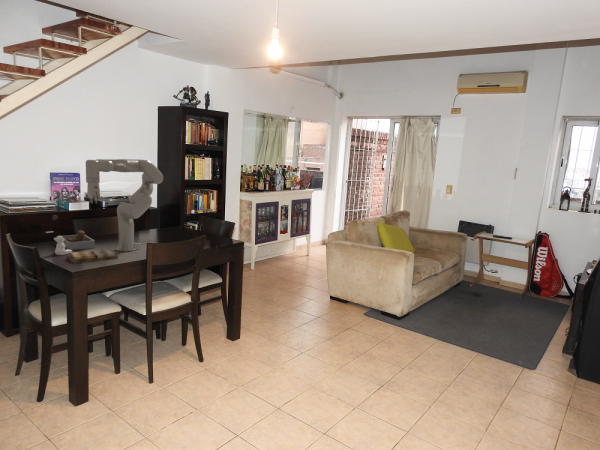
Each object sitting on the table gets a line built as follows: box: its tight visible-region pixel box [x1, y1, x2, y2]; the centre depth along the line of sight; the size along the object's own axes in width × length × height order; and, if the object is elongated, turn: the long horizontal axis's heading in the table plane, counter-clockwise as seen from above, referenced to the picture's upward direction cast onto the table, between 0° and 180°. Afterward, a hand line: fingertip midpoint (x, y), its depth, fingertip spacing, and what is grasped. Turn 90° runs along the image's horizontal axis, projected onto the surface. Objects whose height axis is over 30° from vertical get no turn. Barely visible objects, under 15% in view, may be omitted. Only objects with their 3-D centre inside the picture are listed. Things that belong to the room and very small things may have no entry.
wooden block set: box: [67, 229, 86, 242], centre depth 293 cm, size 18×9×10 cm, turn 152°
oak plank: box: [69, 250, 95, 260], centre depth 260 cm, size 11×12×2 cm
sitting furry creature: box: [53, 235, 73, 256], centre depth 268 cm, size 10×9×12 cm
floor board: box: [67, 248, 119, 264], centre depth 264 cm, size 25×14×3 cm, turn 132°
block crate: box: [61, 234, 96, 251], centre depth 293 cm, size 16×24×5 cm, turn 41°
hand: (93, 209), depth 266 cm, fingers closed
